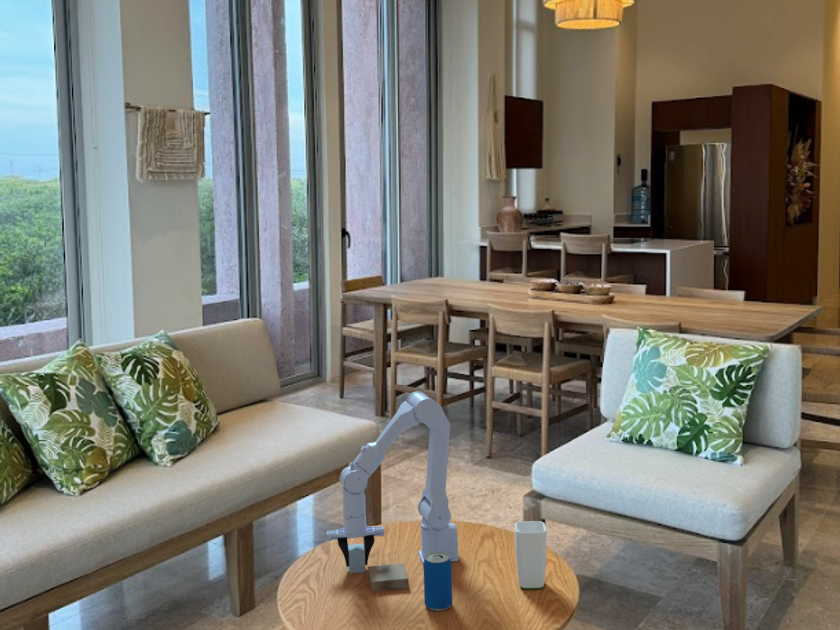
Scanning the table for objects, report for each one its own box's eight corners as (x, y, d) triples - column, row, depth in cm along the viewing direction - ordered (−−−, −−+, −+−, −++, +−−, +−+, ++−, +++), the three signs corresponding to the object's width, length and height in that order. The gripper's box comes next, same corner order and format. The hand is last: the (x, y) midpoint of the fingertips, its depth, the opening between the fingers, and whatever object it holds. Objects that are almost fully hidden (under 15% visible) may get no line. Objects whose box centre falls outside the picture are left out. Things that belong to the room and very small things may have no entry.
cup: (544, 578, 223) (544, 520, 220) (547, 591, 215) (547, 532, 213) (515, 578, 223) (514, 521, 221) (517, 591, 216) (516, 532, 214)
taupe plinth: (403, 574, 228) (403, 563, 228) (408, 590, 219) (408, 578, 219) (368, 577, 227) (368, 566, 226) (372, 593, 218) (371, 581, 218)
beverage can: (455, 601, 212) (454, 553, 210) (447, 614, 206) (446, 564, 204) (429, 598, 214) (428, 550, 212) (420, 610, 208) (419, 561, 206)
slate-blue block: (364, 565, 233) (363, 543, 232) (365, 572, 229) (364, 549, 228) (348, 567, 232) (347, 545, 232) (349, 573, 229) (348, 551, 228)
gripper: (381, 505, 234) (383, 555, 236) (325, 510, 231) (327, 560, 233) (384, 515, 227) (386, 566, 229) (326, 520, 225) (329, 572, 227)
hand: (356, 564), depth 231 cm, fingers closed on slate-blue block, 4 cm apart
